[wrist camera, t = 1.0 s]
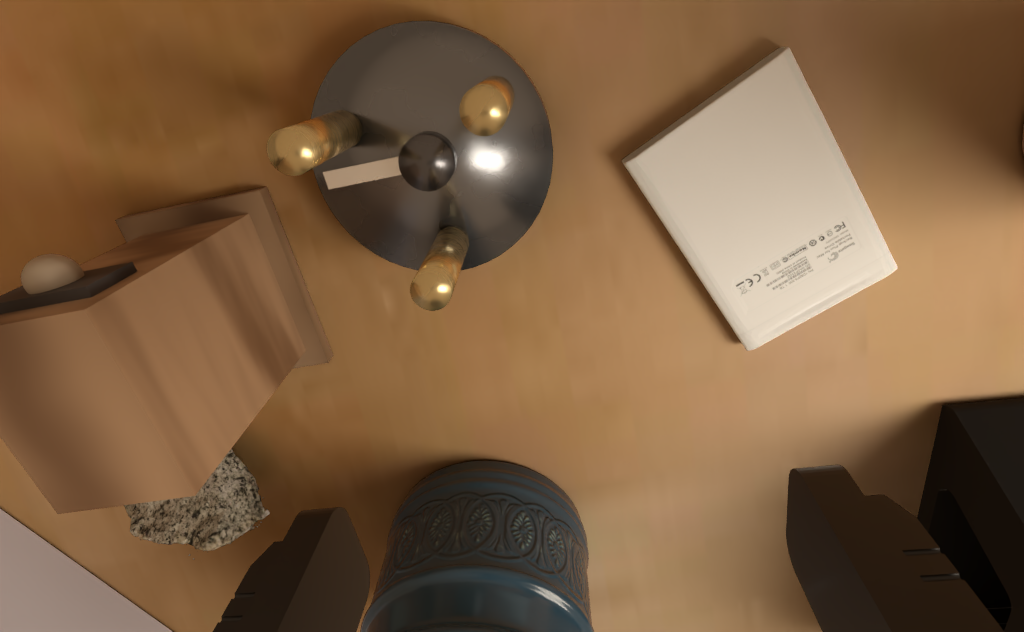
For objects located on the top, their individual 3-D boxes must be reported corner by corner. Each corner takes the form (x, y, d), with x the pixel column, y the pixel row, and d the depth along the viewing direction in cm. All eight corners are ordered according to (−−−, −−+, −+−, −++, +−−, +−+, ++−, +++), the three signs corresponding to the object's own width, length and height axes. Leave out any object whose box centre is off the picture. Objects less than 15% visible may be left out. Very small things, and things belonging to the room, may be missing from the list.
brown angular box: (262, 176, 28) (87, 260, 17) (333, 355, 32) (230, 511, 21) (120, 206, 29) (-129, 303, 18) (208, 376, 33) (49, 535, 22)
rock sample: (191, 397, 29) (133, 574, 27) (304, 418, 36) (264, 563, 34) (95, 378, 34) (40, 526, 32) (208, 400, 41) (169, 524, 39)
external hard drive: (777, 46, 25) (884, 259, 29) (619, 158, 27) (738, 340, 31) (791, 45, 23) (902, 270, 27) (624, 165, 26) (748, 354, 30)
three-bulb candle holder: (528, -5, 23) (523, -25, 17) (569, 240, 28) (578, 303, 21) (287, 53, 25) (191, 56, 18) (363, 277, 30) (311, 347, 23)
